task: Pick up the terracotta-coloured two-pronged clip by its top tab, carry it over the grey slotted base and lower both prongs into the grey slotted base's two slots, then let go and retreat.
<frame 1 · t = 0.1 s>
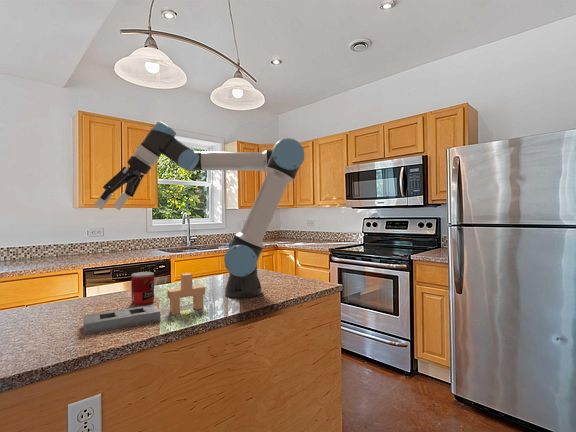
hand: (107, 207, 113), 36 cm above the counter, tool tilted 35°, fingers open, 13 cm apart
canned food: (143, 303, 118), on the counter
grey slotted base: (122, 323, 96), on the counter
clip: (186, 310, 109), on the counter
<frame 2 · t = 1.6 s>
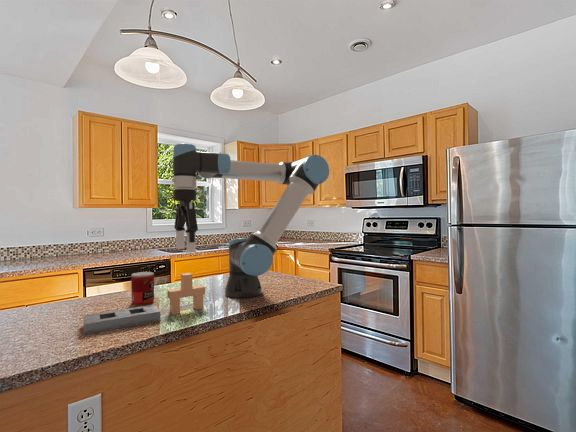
hand: (185, 250, 109), 21 cm above the counter, tool pointing down, fingers open, 13 cm apart
nothing on the counter moved.
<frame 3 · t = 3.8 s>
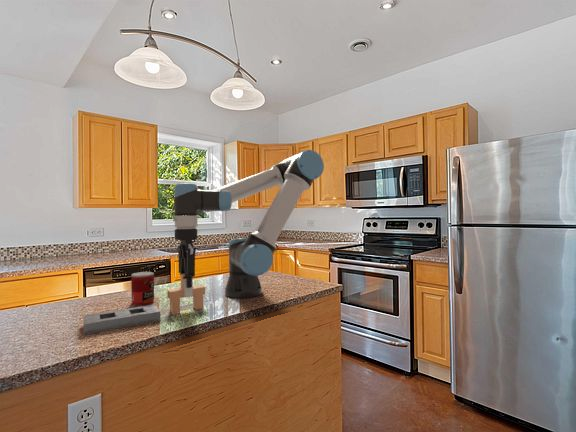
hand: (186, 295, 109), 5 cm above the counter, tool pointing down, fingers closed on clip, 3 cm apart
clip: (186, 310, 109), on the counter, touching gripper
everything else where it was.
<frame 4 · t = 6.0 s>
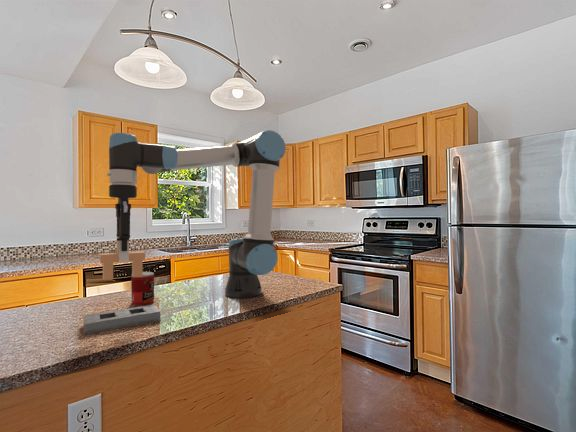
hand: (123, 261, 96), 19 cm above the counter, tool pointing down, fingers closed on clip, 3 cm apart
clip: (122, 277, 96), point 14 cm above the counter, touching gripper
everything else where it was.
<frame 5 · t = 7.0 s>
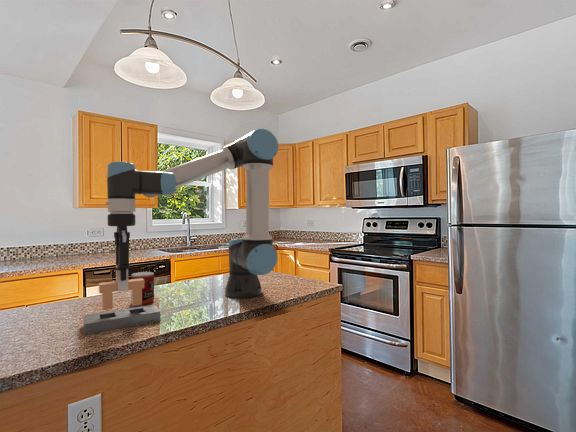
hand: (122, 289, 96), 10 cm above the counter, tool pointing down, fingers closed on clip, 3 cm apart
clip: (122, 305, 96), point 5 cm above the counter, touching gripper
everything else where it was.
when the fingers open (6 cm above the counter, at t = 8.0 s): clip drops 1 cm, on the counter.
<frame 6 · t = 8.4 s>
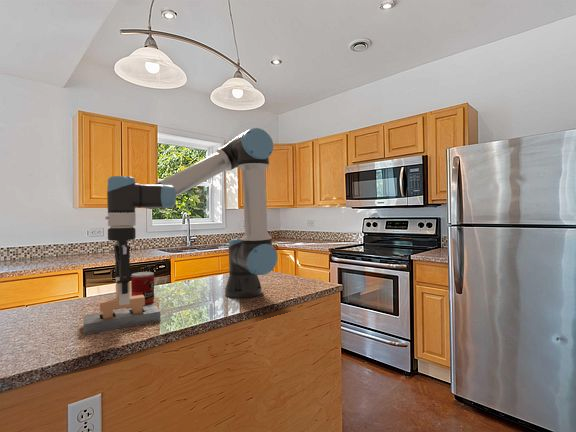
hand: (122, 300, 96), 7 cm above the counter, tool pointing down, fingers open, 9 cm apart
clip: (122, 323, 96), on the counter
everything else where it was.
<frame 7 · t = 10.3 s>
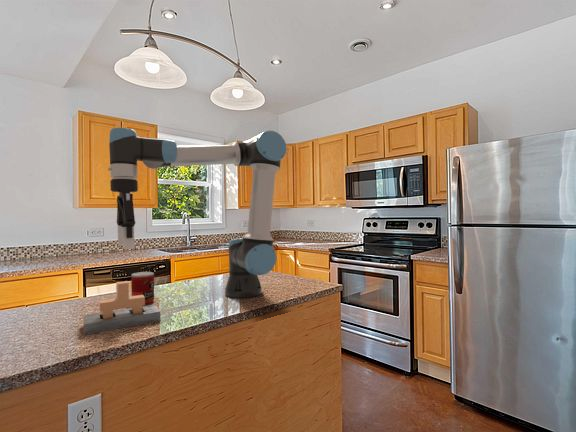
hand: (125, 247, 97), 23 cm above the counter, tool pointing down, fingers open, 13 cm apart
nothing on the counter moved.
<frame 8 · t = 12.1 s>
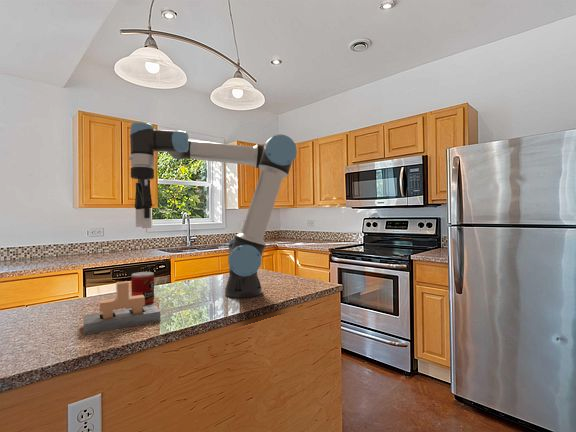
hand: (143, 227, 111), 29 cm above the counter, tool pointing down, fingers open, 13 cm apart
nothing on the counter moved.
at the end: clip 0.0 cm off-centre on the grey slotted base, point 0.0 cm above the grey slotted base's base; clip tilted 0°; the gripper is holding nothing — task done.
